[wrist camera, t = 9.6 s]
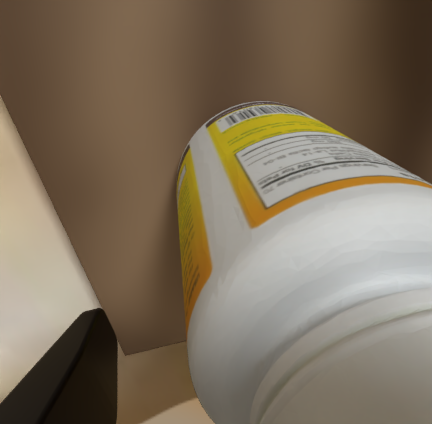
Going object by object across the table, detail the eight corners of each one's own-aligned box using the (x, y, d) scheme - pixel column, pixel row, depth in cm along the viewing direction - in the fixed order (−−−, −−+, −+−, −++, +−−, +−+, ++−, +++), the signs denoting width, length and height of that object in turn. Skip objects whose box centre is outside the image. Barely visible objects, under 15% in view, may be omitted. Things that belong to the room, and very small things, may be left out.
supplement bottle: (244, 267, 15) (370, 656, 5) (142, 176, 12) (70, 589, 3) (356, 177, 13) (763, 490, 4) (266, 57, 11) (730, 180, 2)
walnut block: (417, -93, 11) (463, -116, 10) (399, 257, 18) (425, 281, 16) (-11, 5, 11) (-45, 1, 9) (129, 323, 18) (125, 355, 16)
